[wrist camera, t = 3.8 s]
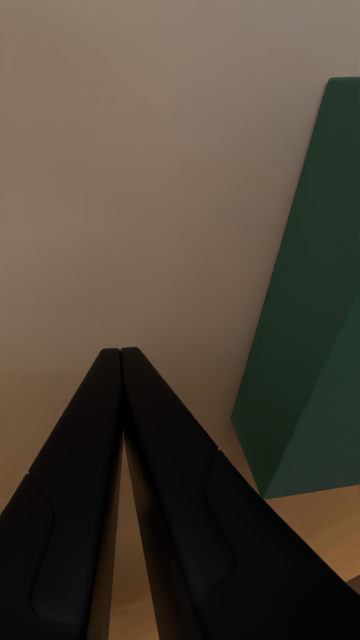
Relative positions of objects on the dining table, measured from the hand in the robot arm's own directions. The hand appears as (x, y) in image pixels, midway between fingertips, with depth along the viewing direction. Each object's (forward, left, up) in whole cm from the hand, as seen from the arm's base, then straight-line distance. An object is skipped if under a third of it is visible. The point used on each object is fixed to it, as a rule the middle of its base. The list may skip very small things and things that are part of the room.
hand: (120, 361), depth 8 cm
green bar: (0, -7, -2) cm, 7 cm away
